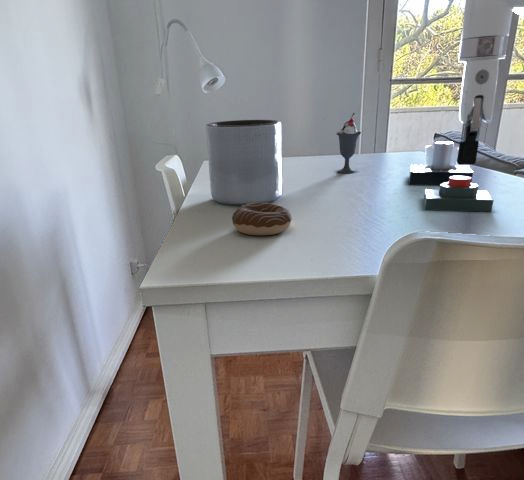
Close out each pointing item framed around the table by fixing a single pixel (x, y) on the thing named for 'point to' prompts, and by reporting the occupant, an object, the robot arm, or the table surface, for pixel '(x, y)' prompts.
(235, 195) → the planter
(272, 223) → the donut
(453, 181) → the button
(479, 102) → the robot arm
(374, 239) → the table surface
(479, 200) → the box
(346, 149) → the sundae
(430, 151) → the candle
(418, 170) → the block
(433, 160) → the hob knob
